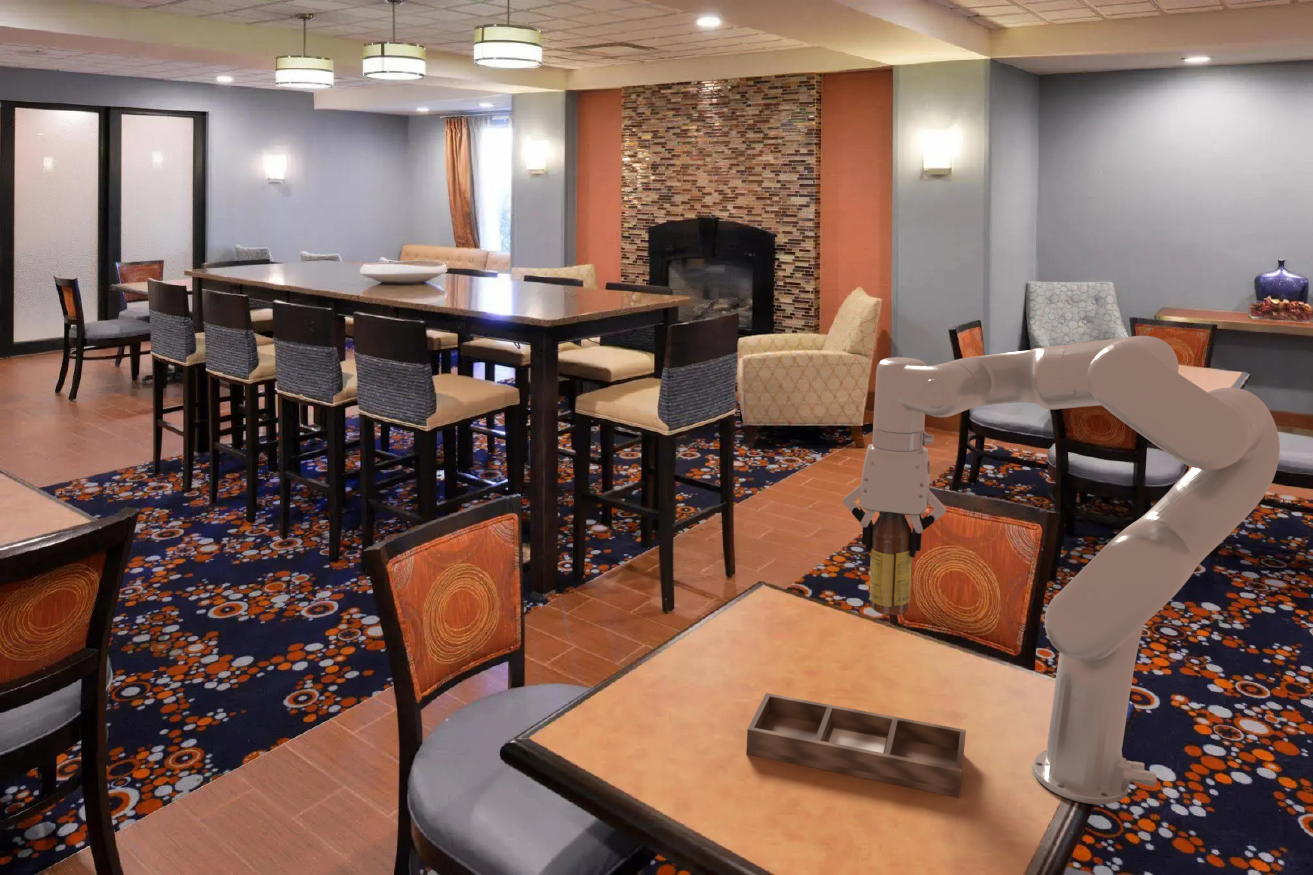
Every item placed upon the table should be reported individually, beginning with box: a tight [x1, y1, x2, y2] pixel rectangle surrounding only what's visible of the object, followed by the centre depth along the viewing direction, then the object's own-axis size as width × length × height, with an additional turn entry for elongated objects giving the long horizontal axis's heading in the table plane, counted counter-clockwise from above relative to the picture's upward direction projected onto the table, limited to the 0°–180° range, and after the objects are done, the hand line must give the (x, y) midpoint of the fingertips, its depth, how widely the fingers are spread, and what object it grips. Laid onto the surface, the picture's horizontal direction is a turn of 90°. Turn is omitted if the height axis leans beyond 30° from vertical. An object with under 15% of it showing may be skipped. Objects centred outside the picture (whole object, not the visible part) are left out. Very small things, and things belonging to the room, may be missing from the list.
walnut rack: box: [746, 692, 967, 798], centre depth 146 cm, size 30×12×4 cm, turn 71°
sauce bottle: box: [869, 512, 912, 616], centre depth 154 cm, size 6×6×20 cm
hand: (890, 550), depth 154 cm, fingers closed on sauce bottle, 6 cm apart
